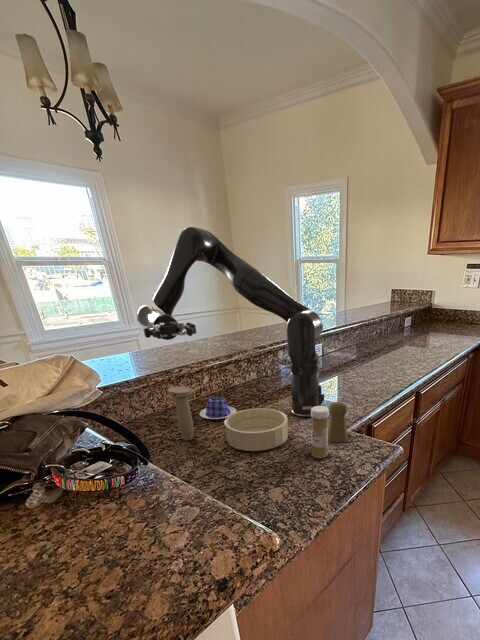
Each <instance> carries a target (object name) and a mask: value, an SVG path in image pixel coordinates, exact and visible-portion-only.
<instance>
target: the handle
mask: <svg viewBox="0 0 480 640" xmlns="http://www.w3.org/2000/svg"><path fill="white" fill-rule="evenodd" d="M167 395H168V396H170V397H172V398H173V399H174V401H175V410H176V411H175V412H176V421H177V425H178V429H179V430H178V431H179V433H180V436H181V439H182V440H183V441H185V442H187V441H192V440H193V439H194V438H195V434H194V429H195V428H194V421H193V417H192V412H191V407H190V403H189V397H190V396H191V395H193V389H192V388H191V387H188V386H173V387H169V388H168V389H167Z"/></svg>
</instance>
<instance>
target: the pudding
mask: <svg viewBox="0 0 480 640" xmlns="http://www.w3.org/2000/svg"><path fill="white" fill-rule="evenodd" d="M236 412H237V409H236V407H233V406H229V405H228V401H227V399H226V398H225V397H222V396H217V397H216V396H214V397H212V398H209V399H208V400H207V402H206V408H204V409H202V410H201V411H199V416H200V417H201V418H203V419H208V420H221V419H226V418H227V417H228V416H230V415H232V414H233V413H236Z"/></svg>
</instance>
